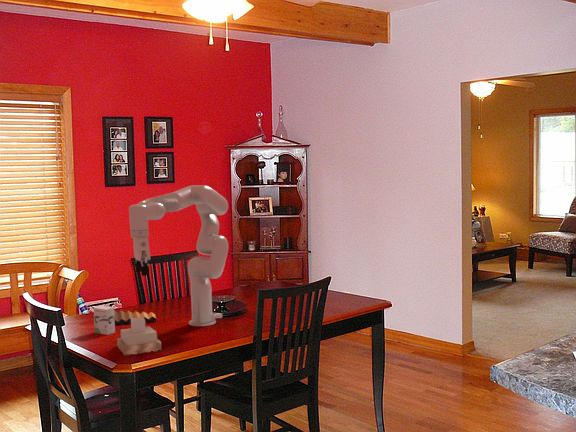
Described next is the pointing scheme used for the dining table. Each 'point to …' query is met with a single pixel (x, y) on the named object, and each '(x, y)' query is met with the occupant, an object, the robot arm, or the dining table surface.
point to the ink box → (104, 320)
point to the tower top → (138, 336)
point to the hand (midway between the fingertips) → (142, 273)
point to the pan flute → (126, 317)
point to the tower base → (138, 347)
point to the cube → (137, 324)
